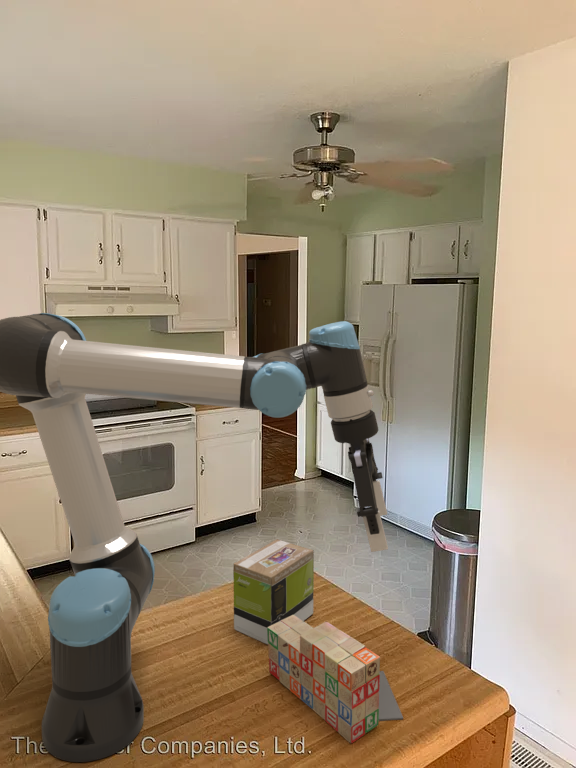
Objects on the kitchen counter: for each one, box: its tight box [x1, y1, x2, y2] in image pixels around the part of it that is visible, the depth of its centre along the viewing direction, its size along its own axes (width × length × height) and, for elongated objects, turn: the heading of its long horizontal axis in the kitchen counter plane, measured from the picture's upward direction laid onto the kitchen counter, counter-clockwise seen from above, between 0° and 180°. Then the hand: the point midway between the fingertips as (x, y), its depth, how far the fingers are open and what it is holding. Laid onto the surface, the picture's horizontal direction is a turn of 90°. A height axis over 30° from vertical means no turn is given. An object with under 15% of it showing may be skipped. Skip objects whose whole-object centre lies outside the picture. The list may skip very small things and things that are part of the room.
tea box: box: [232, 538, 315, 645], centre depth 123 cm, size 15×10×15 cm, turn 144°
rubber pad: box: [378, 670, 404, 722], centre depth 102 cm, size 7×12×1 cm, turn 7°
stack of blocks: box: [267, 615, 381, 744], centre depth 100 cm, size 21×6×12 cm, turn 38°
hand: (379, 531), depth 103 cm, fingers open, 13 cm apart
